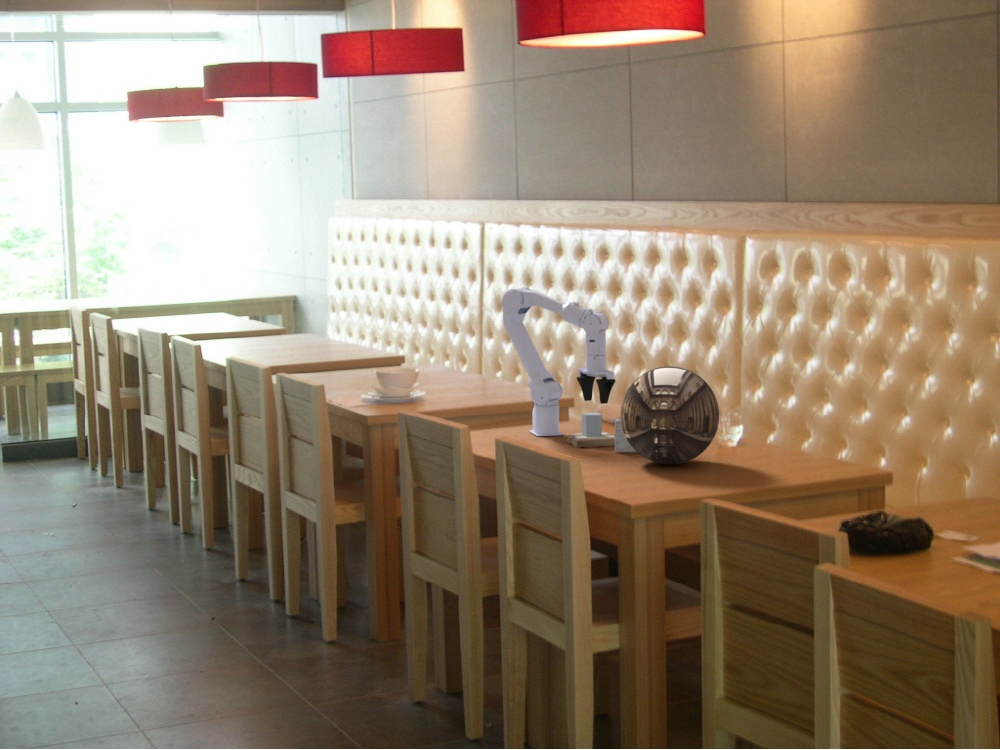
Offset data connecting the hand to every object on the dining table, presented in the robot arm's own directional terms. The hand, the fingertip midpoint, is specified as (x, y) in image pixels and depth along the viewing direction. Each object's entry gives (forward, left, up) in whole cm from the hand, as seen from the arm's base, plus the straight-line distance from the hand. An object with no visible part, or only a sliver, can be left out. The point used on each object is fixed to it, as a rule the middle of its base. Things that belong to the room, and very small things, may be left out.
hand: (595, 401), depth 372 cm
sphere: (+44, +6, -11) cm, 46 cm away
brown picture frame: (+10, -4, -10) cm, 15 cm away
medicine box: (+24, +2, -11) cm, 26 cm away
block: (+10, -4, -8) cm, 14 cm away
